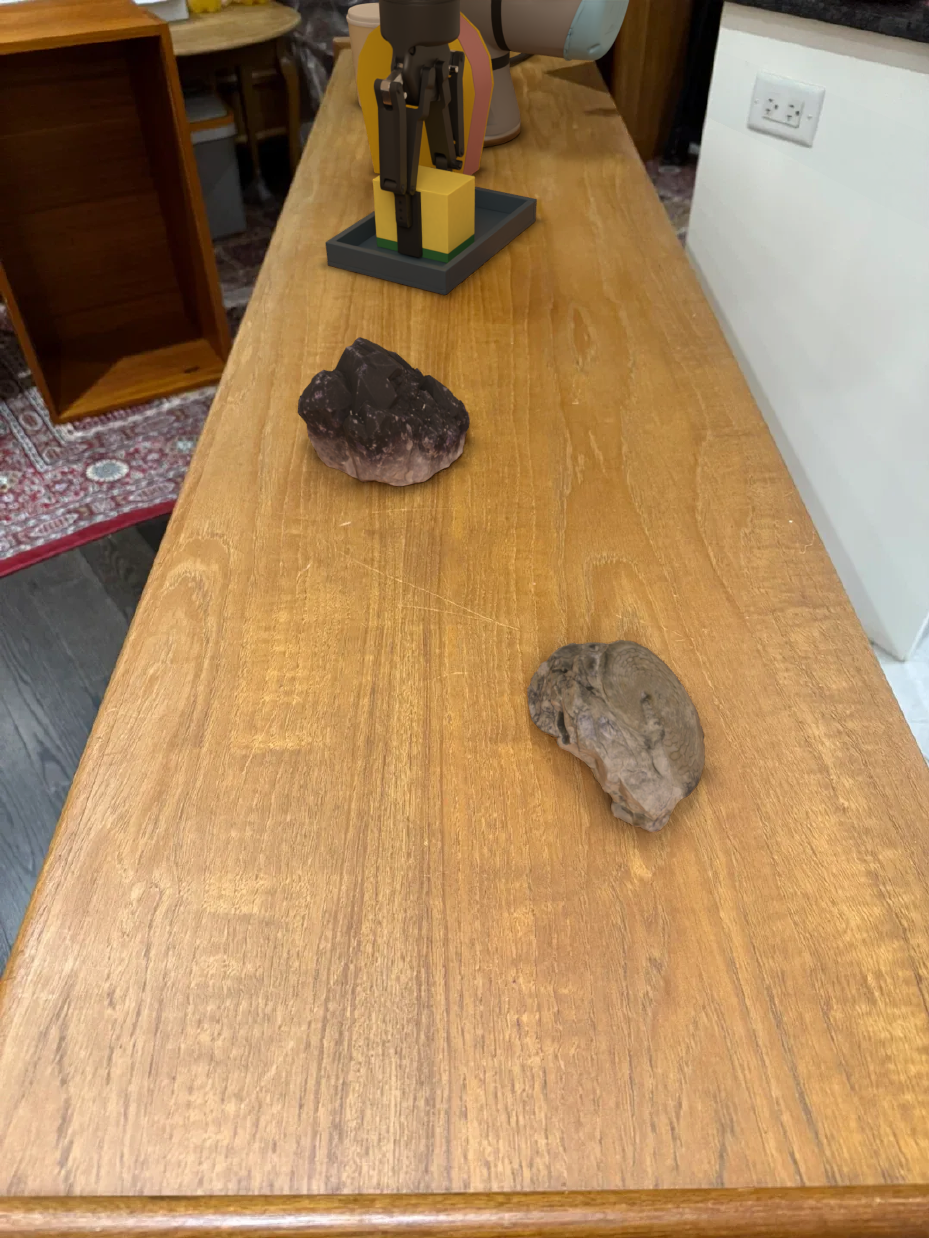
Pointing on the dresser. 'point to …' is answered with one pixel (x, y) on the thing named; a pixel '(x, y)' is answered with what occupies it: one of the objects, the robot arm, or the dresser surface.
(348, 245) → the tray
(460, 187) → the sponge
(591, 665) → the fossilized seashell
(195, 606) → the dresser surface
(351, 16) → the coffee cup
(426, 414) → the crystal cluster
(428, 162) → the yellow arched slab
